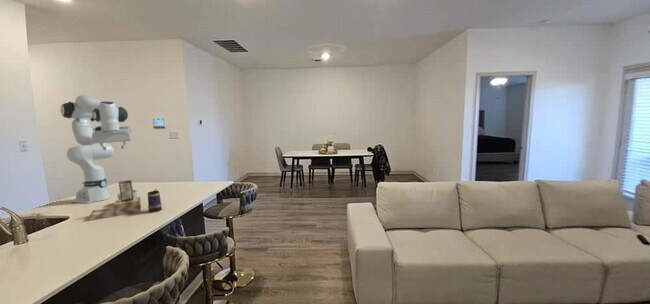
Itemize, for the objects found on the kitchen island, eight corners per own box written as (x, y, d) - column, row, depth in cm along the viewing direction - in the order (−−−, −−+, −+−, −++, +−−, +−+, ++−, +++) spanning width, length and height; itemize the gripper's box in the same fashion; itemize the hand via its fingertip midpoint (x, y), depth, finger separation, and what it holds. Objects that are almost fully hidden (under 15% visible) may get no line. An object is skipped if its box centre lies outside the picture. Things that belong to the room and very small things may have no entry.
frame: (121, 202, 171) (118, 182, 170) (122, 200, 174) (119, 181, 173) (133, 200, 174) (130, 181, 173) (133, 199, 177) (131, 180, 175)
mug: (160, 211, 173) (157, 192, 171) (147, 213, 171) (144, 193, 170) (165, 206, 183) (163, 188, 181) (152, 207, 181) (150, 189, 180)
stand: (90, 220, 162) (88, 208, 161) (93, 215, 171) (92, 203, 170) (140, 212, 174) (138, 200, 173) (141, 207, 182) (140, 196, 181)
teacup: (131, 205, 187) (129, 193, 186) (114, 206, 187) (112, 194, 186) (144, 199, 201) (143, 188, 200) (129, 199, 201) (127, 188, 200)
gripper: (131, 126, 189) (133, 147, 191) (91, 128, 179) (95, 150, 181) (130, 126, 183) (132, 148, 185) (89, 128, 173) (92, 151, 175)
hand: (113, 149), depth 183 cm, fingers open, 8 cm apart
